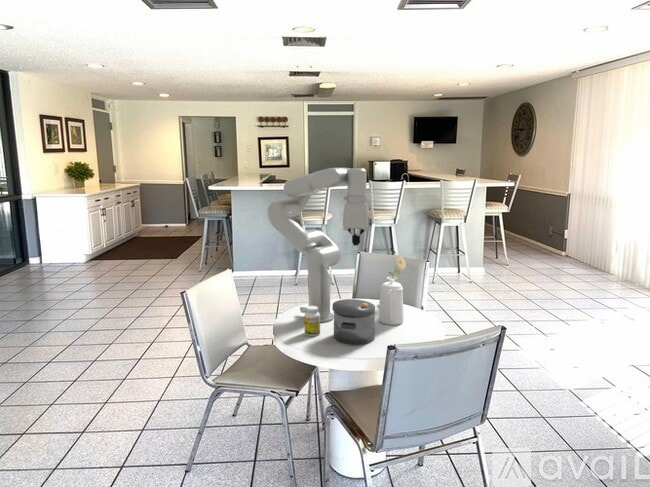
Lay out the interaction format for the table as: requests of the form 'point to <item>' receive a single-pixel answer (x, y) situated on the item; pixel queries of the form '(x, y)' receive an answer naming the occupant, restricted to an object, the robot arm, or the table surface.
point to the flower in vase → (400, 264)
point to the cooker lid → (353, 308)
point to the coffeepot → (391, 303)
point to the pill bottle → (312, 321)
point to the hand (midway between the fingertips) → (356, 244)
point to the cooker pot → (354, 329)
